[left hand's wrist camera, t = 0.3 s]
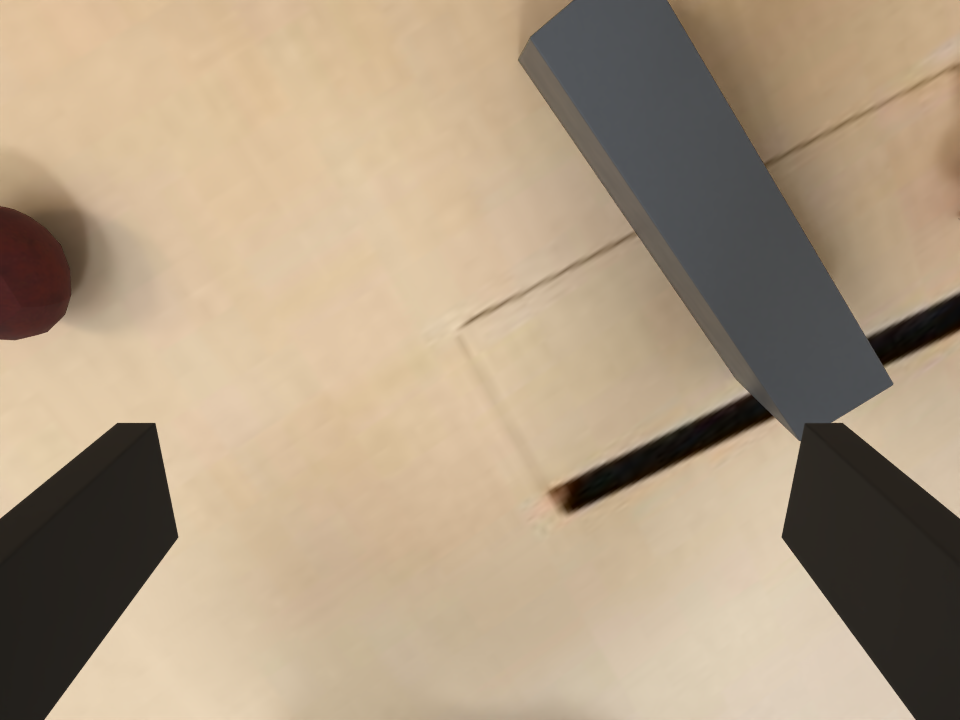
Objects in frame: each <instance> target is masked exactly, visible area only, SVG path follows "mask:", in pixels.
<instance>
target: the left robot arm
mask: <svg viewBox="0 0 960 720" xmlns="http://www.w3.org/2000/svg"><path fill="white" fill-rule="evenodd" d="M177 538H178V533H177V528H176V523H175V518H174V513H173V508H172V503H171V498H170V493H169V488H168V483H167V478H166V474H165V469H164V464H163V459H162V454H161V449H160V444H159V439H158V434H157V429H156V424H155V423H117V424H116V425H114V426H113V427H112V428H111V429H110V430H108V431H107V432H106V433H105V434H103V435H102V436H101V437H100V438H98V439H97V440H96V441H95V442H94V443H92V444H91V445H90V446H89V447H87V448H86V449H85V450H84V451H83V452H81V453H80V454H79V455H78V456H76V457H75V458H74V459H73V460H72V461H70V462H69V463H68V464H67V465H65V466H64V467H63V468H62V469H61V470H59V471H58V472H57V473H56V474H54V475H53V476H52V477H51V478H50V479H48V480H47V481H46V482H45V483H43V484H42V485H41V486H40V487H38V488H37V489H36V490H35V491H34V492H32V493H31V494H30V495H29V496H27V497H26V498H25V499H24V500H23V501H21V502H20V503H19V504H18V505H16V506H15V507H14V508H13V509H12V510H10V511H9V512H8V513H7V514H5V515H4V516H3V517H2V518H1V519H0V720H44V719H45V718H46V717H47V715H48V714H49V713H50V711H51V710H52V709H53V707H54V706H55V704H56V703H57V702H58V700H59V699H60V698H61V696H62V695H63V694H64V692H65V691H66V689H67V688H68V687H69V685H70V684H71V683H72V681H73V680H74V679H75V677H76V676H77V674H78V673H79V672H80V670H81V669H82V668H83V666H84V665H85V664H86V662H87V661H88V660H89V658H90V657H91V655H92V654H93V653H94V651H95V650H96V649H97V647H98V646H99V645H100V643H101V642H102V640H103V639H104V638H105V636H106V635H107V634H108V632H109V631H110V630H111V628H112V627H113V626H114V624H115V623H116V621H117V620H118V619H119V617H120V616H121V615H122V613H123V612H124V611H125V609H126V608H127V606H128V605H129V604H130V602H131V601H132V600H133V598H134V597H135V596H136V594H137V593H138V592H139V590H140V589H141V587H142V586H143V585H144V583H145V582H146V581H147V579H148V578H149V577H150V575H151V574H152V572H153V571H154V570H155V568H156V567H157V566H158V564H159V563H160V562H161V560H162V559H163V558H164V556H165V555H166V553H167V552H168V551H169V549H170V548H171V547H172V545H173V544H174V543H175V541H176V540H177ZM782 538H783V540H784V541H785V543H786V544H787V545H788V547H789V548H790V549H791V551H792V552H793V553H794V555H795V556H796V558H797V559H798V560H799V562H800V563H801V564H802V566H803V567H804V568H805V570H806V571H807V572H808V574H809V575H810V577H811V578H812V579H813V581H814V582H815V583H816V585H817V586H818V587H819V589H820V590H821V592H822V593H823V594H824V596H825V597H826V598H827V600H828V601H829V602H830V604H831V605H832V606H833V608H834V609H835V611H836V612H837V613H838V615H839V616H840V617H841V619H842V620H843V621H844V623H845V624H846V626H847V627H848V628H849V630H850V631H851V632H852V634H853V635H854V636H855V638H856V639H857V640H858V642H859V643H860V645H861V646H862V647H863V649H864V650H865V651H866V653H867V654H868V655H869V657H870V658H871V660H872V661H873V662H874V664H875V665H876V666H877V668H878V669H879V670H880V672H881V673H882V674H883V676H884V677H885V679H886V680H887V681H888V683H889V684H890V685H891V687H892V688H893V689H894V691H895V692H896V694H897V695H898V696H899V698H900V699H901V700H902V702H903V703H904V704H905V706H906V707H907V709H908V710H909V711H910V713H911V714H912V715H913V717H914V718H915V719H916V720H960V519H959V518H958V517H957V516H956V515H955V514H953V513H952V512H951V511H950V510H948V509H947V508H946V507H945V506H944V505H942V504H941V503H940V502H939V501H937V500H936V499H935V498H934V497H933V496H931V495H930V494H929V493H928V492H926V491H925V490H924V489H923V488H922V487H920V486H919V485H918V484H917V483H915V482H914V481H913V480H912V479H910V478H909V477H908V476H907V475H906V474H904V473H903V472H902V471H901V470H899V469H898V468H897V467H896V466H895V465H893V464H892V463H891V462H890V461H888V460H887V459H886V458H885V457H884V456H882V455H881V454H880V453H879V452H877V451H876V450H875V449H874V448H873V447H871V446H870V445H869V444H868V443H866V442H865V441H864V440H863V439H861V438H860V437H859V436H858V435H857V434H855V433H854V432H853V431H852V430H850V429H849V428H848V427H847V426H846V425H844V424H843V423H805V424H804V429H803V434H802V439H801V444H800V449H799V454H798V459H797V464H796V469H795V474H794V478H793V483H792V488H791V493H790V498H789V503H788V508H787V513H786V518H785V523H784V528H783V533H782Z"/></svg>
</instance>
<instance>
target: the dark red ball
mask: <svg viewBox="0 0 960 720" xmlns="http://www.w3.org/2000/svg"><path fill="white" fill-rule="evenodd" d="M70 297H71V280H70V268H69V266H68V263H67V260H66V258H65V255H64V252H63V250H62V247H61V245H60V244H59V242H58V241H57V240H56V239H55V238H54V237H53V236H52V235H51V234H50V232H49V231H48V230H47V229H46V228H45V227H43V226H42V225H40V224H39V223H38V222H36V221H35V220H34V219H32V218H31V217H29V216H27V215H25V214H23V213H21V212H18V211H16V210H14V209H10V208H6V207H1V206H0V339H1V340H18V339H22V338H27V337H31V336H35V335H39V334H42V333H45V332H48V331H49V330H50V329H51V328H52V327H53V326H54V325H55V324H56V323H57V322H58V321H59V320H60V319H61V318H62V317H63V316H64V315H65V313H66V310H67V307H68V303H69V300H70Z"/></svg>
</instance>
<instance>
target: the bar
mask: <svg viewBox="0 0 960 720" xmlns="http://www.w3.org/2000/svg"><path fill="white" fill-rule="evenodd" d="M518 61H519V62H520V64H521V65H522V67H523V68H524V70H525V71H526V73H527V74H528V75H529V77H530V78H531V80H532V81H533V83H534V84H535V86H536V87H537V89H538V90H539V92H540V93H541V95H542V96H543V97H544V99H545V100H546V102H547V103H548V105H549V106H550V108H551V109H552V111H553V112H554V114H555V115H556V116H557V118H558V119H559V121H560V122H561V124H562V125H563V127H564V128H565V130H566V131H567V133H568V134H569V136H570V137H571V138H572V140H573V141H574V143H575V144H576V146H577V147H578V149H579V150H580V152H581V153H582V155H583V156H584V157H585V159H586V160H587V162H588V163H589V165H590V166H591V168H592V169H593V171H594V172H595V174H596V175H597V176H598V178H599V179H600V181H601V182H602V184H603V185H604V187H605V188H606V190H607V191H608V193H609V194H610V196H611V197H612V198H613V200H614V201H615V203H616V204H617V206H618V207H619V209H620V210H621V212H622V213H623V215H624V216H625V217H626V219H627V220H628V222H629V223H630V225H631V226H632V228H633V229H634V231H635V232H636V234H637V235H638V237H639V238H640V239H641V241H642V242H643V244H644V245H645V247H646V248H647V250H648V251H649V253H650V254H651V256H652V257H653V258H654V260H655V261H656V263H657V264H658V266H659V267H660V269H661V270H662V272H663V273H664V275H665V276H666V277H667V279H668V280H669V282H670V283H671V285H672V286H673V288H674V289H675V291H676V292H677V294H678V295H679V297H680V298H681V299H682V301H683V302H684V304H685V305H686V307H687V308H688V310H689V311H690V313H691V314H692V316H693V317H694V318H695V320H696V321H697V323H698V324H699V326H700V327H701V329H702V330H703V332H704V333H705V335H706V336H707V338H708V339H709V340H710V342H711V343H712V345H713V346H714V348H715V349H716V351H717V352H718V354H719V355H720V357H721V358H722V359H723V361H724V362H725V364H726V365H727V367H728V368H729V370H730V371H731V373H732V374H733V376H734V377H735V378H736V380H737V381H738V382H739V383H740V384H741V385H742V386H743V387H744V388H745V389H746V390H747V391H748V392H750V393H751V394H752V395H753V396H754V397H755V398H756V399H757V400H758V401H759V402H760V403H761V404H762V405H763V406H764V407H765V408H766V409H767V410H768V411H769V412H770V413H771V414H772V415H773V416H774V417H775V418H776V419H777V420H778V421H779V422H780V423H781V424H782V425H783V426H784V427H785V428H786V429H787V430H789V431H790V432H791V433H792V434H793V435H794V436H795V437H796V438H797V439H798V440H799V441H801V439H802V434H803V429H804V424H805V423H831V422H833V421H835V420H836V419H838V418H840V417H841V416H843V415H845V414H846V413H848V412H850V411H851V410H853V409H854V408H856V407H858V406H859V405H861V404H863V403H864V402H866V401H868V400H869V399H871V398H873V397H874V396H876V395H877V394H879V393H881V392H882V391H884V390H886V389H887V388H889V387H891V386H892V385H893V382H892V380H891V379H890V377H889V375H888V374H887V372H886V370H885V368H884V367H883V365H882V363H881V362H880V360H879V358H878V357H877V355H876V353H875V352H874V350H873V348H872V346H871V345H870V343H869V341H868V340H867V338H866V336H865V335H864V333H863V331H862V330H861V328H860V326H859V324H858V323H857V321H856V319H855V318H854V316H853V314H852V313H851V311H850V309H849V308H848V306H847V304H846V302H845V301H844V299H843V297H842V296H841V294H840V292H839V291H838V289H837V287H836V285H835V284H834V282H833V280H832V279H831V277H830V275H829V274H828V272H827V270H826V269H825V267H824V265H823V263H822V262H821V260H820V258H819V257H818V255H817V253H816V252H815V250H814V248H813V247H812V245H811V243H810V241H809V240H808V238H807V236H806V235H805V233H804V231H803V230H802V228H801V226H800V225H799V223H798V221H797V219H796V218H795V216H794V214H793V213H792V211H791V209H790V208H789V206H788V204H787V203H786V201H785V199H784V197H783V196H782V194H781V192H780V191H779V189H778V187H777V186H776V184H775V182H774V180H773V179H772V177H771V175H770V174H769V172H768V170H767V169H766V167H765V165H764V164H763V162H762V160H761V158H760V157H759V155H758V153H757V152H756V150H755V148H754V147H753V145H752V143H751V142H750V140H749V138H748V136H747V135H746V133H745V131H744V130H743V128H742V126H741V125H740V123H739V121H738V120H737V118H736V116H735V114H734V113H733V111H732V109H731V108H730V106H729V104H728V103H727V101H726V99H725V97H724V96H723V94H722V92H721V91H720V89H719V87H718V86H717V84H716V82H715V81H714V79H713V77H712V75H711V74H710V72H709V70H708V69H707V67H706V65H705V64H704V62H703V60H702V59H701V57H700V55H699V53H698V52H697V50H696V48H695V47H694V45H693V43H692V42H691V40H690V38H689V37H688V35H687V33H686V31H685V30H684V28H683V26H682V25H681V23H680V21H679V20H678V18H677V16H676V14H675V13H674V11H673V9H672V8H671V6H670V4H669V3H668V1H667V0H573V1H572V2H571V3H570V4H568V5H567V6H566V7H565V8H564V9H562V10H561V11H560V12H559V13H558V14H557V15H555V16H554V17H553V18H552V19H551V20H550V21H548V22H547V23H546V24H545V25H544V26H542V27H541V28H540V29H539V30H538V31H537V32H535V33H534V34H533V35H532V36H531V37H530V39H529V41H528V42H527V44H526V46H525V48H524V50H523V51H522V53H521V55H520V57H519V59H518Z"/></svg>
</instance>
